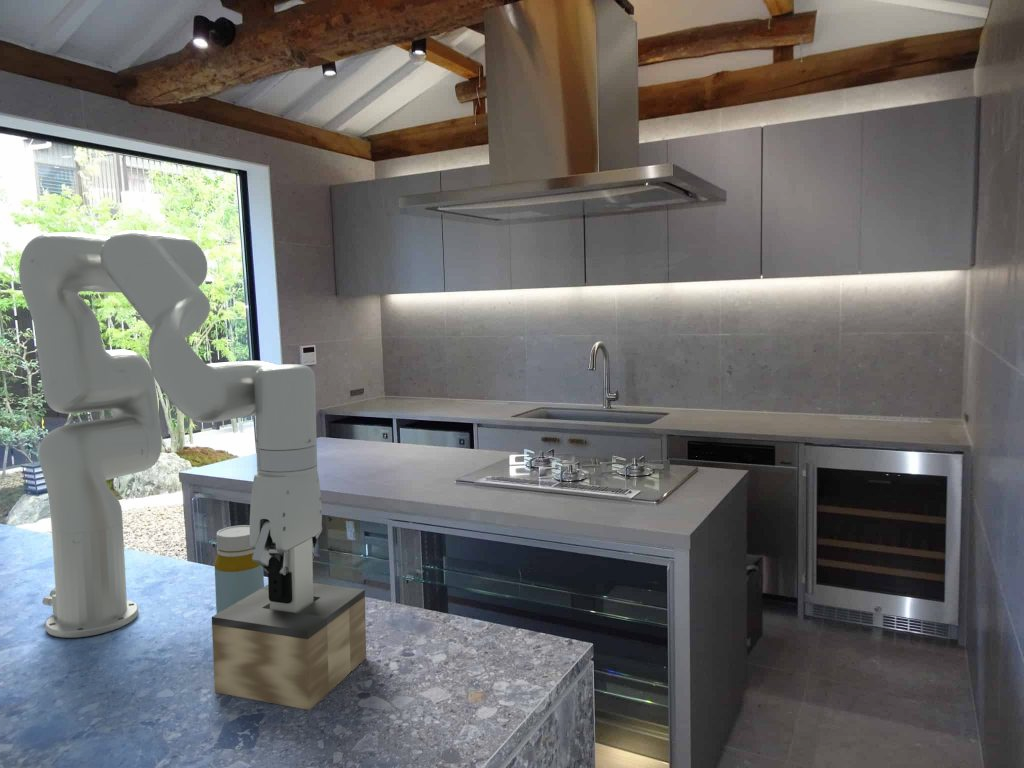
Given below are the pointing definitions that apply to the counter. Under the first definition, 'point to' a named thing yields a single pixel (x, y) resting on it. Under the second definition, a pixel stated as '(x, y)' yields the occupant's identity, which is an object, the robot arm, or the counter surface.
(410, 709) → the counter surface
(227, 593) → the bottle
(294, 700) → the socket
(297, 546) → the peg
